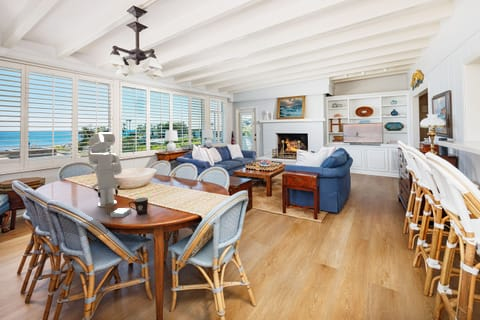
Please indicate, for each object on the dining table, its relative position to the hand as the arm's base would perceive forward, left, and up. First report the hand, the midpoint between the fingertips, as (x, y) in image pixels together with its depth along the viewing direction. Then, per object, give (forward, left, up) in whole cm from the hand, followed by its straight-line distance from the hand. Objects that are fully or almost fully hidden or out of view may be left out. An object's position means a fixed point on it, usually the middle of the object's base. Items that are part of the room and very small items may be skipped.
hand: (108, 196), depth 155 cm
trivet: (+7, +7, -12) cm, 15 cm away
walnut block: (-1, 0, -12) cm, 12 cm away
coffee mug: (+12, +19, -12) cm, 25 cm away
